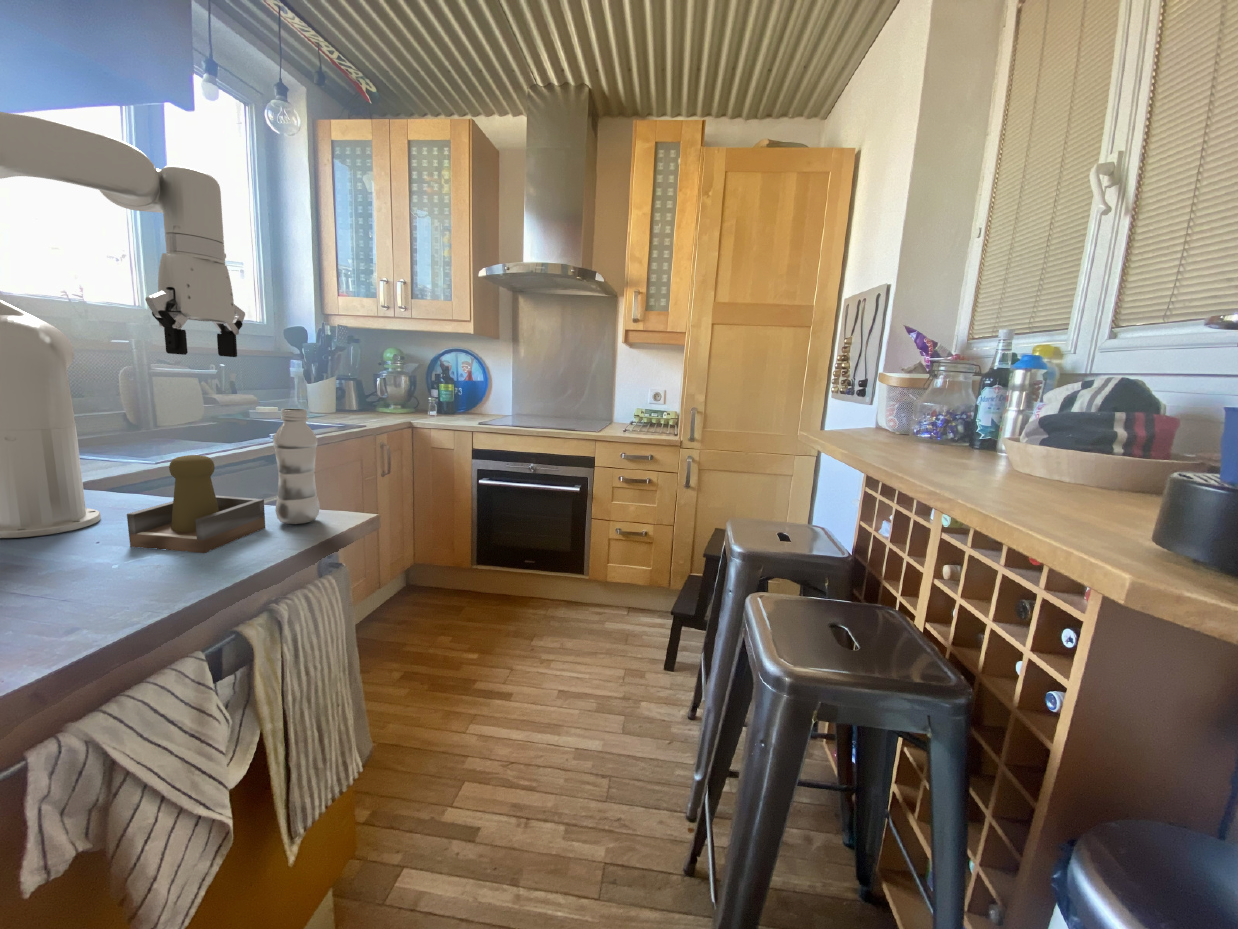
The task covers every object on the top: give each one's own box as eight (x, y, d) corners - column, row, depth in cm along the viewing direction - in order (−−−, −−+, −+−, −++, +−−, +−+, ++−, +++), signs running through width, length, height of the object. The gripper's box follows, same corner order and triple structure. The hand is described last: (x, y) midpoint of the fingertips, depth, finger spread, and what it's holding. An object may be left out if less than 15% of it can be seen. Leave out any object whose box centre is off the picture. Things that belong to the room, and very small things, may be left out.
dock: (130, 547, 72) (126, 513, 71) (201, 522, 83) (199, 494, 82) (204, 553, 71) (202, 520, 71) (265, 527, 83) (263, 499, 82)
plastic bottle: (266, 526, 84) (260, 409, 80) (294, 515, 91) (289, 406, 87) (303, 530, 84) (298, 412, 80) (328, 518, 90) (325, 409, 87)
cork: (193, 534, 73) (187, 461, 71) (159, 528, 74) (153, 456, 72) (232, 522, 79) (227, 455, 77) (200, 518, 80) (195, 451, 78)
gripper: (220, 261, 91) (226, 355, 94) (120, 235, 74) (131, 351, 77) (258, 264, 91) (263, 358, 94) (166, 238, 74) (176, 354, 77)
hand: (203, 355), depth 86 cm, fingers open, 9 cm apart
